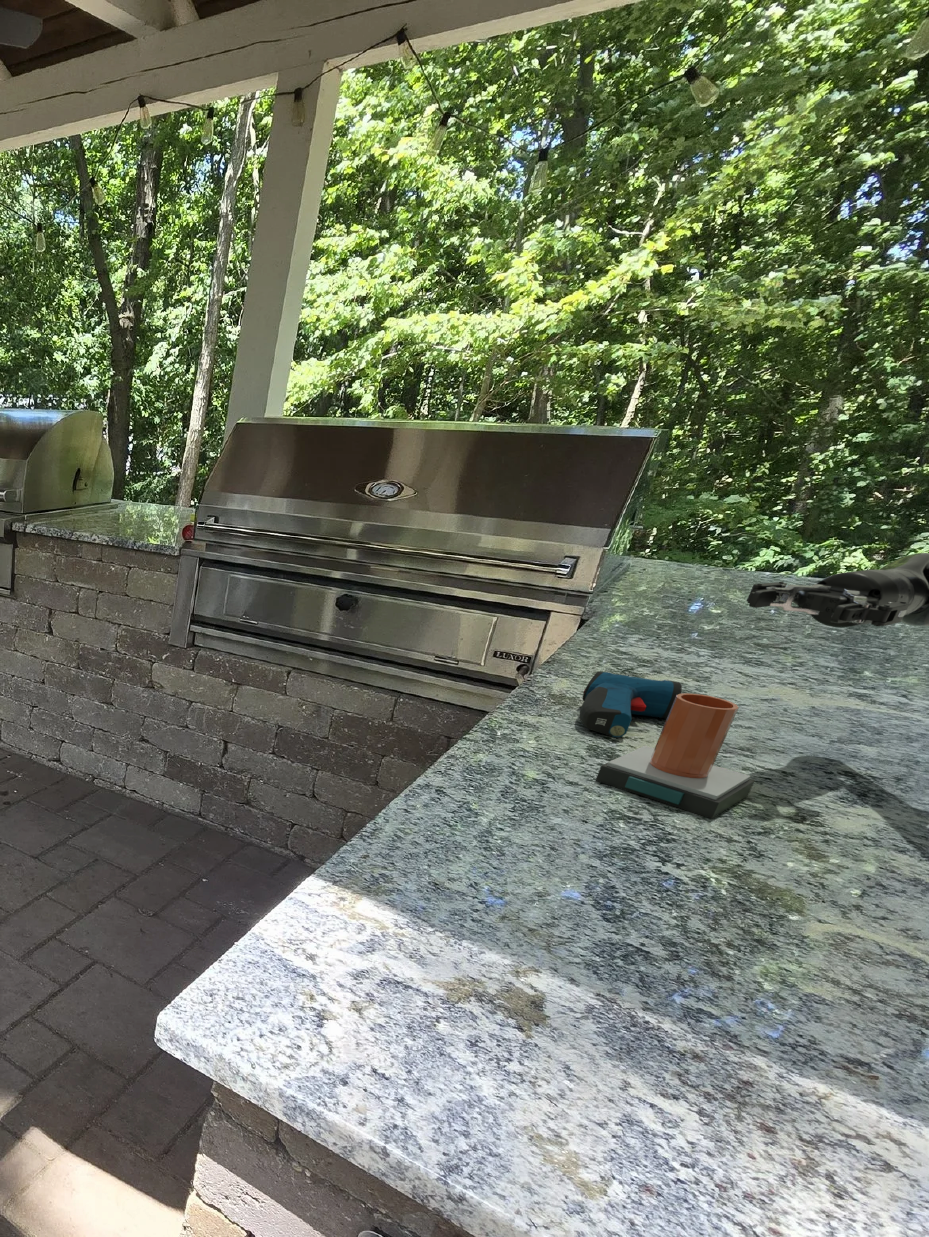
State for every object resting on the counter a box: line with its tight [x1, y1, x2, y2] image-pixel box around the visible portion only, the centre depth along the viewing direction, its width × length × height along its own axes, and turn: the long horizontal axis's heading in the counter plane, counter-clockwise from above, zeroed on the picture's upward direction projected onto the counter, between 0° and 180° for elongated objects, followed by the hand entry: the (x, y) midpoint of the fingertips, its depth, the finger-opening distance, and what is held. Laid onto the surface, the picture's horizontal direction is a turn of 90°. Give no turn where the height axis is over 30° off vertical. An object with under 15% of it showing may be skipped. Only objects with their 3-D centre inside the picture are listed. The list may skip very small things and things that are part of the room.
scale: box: [595, 745, 756, 820], centre depth 111 cm, size 13×14×3 cm
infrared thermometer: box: [578, 671, 683, 738], centre depth 134 cm, size 6×13×20 cm
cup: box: [650, 692, 739, 778], centre depth 109 cm, size 6×6×10 cm
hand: (794, 606), depth 106 cm, fingers open, 8 cm apart
